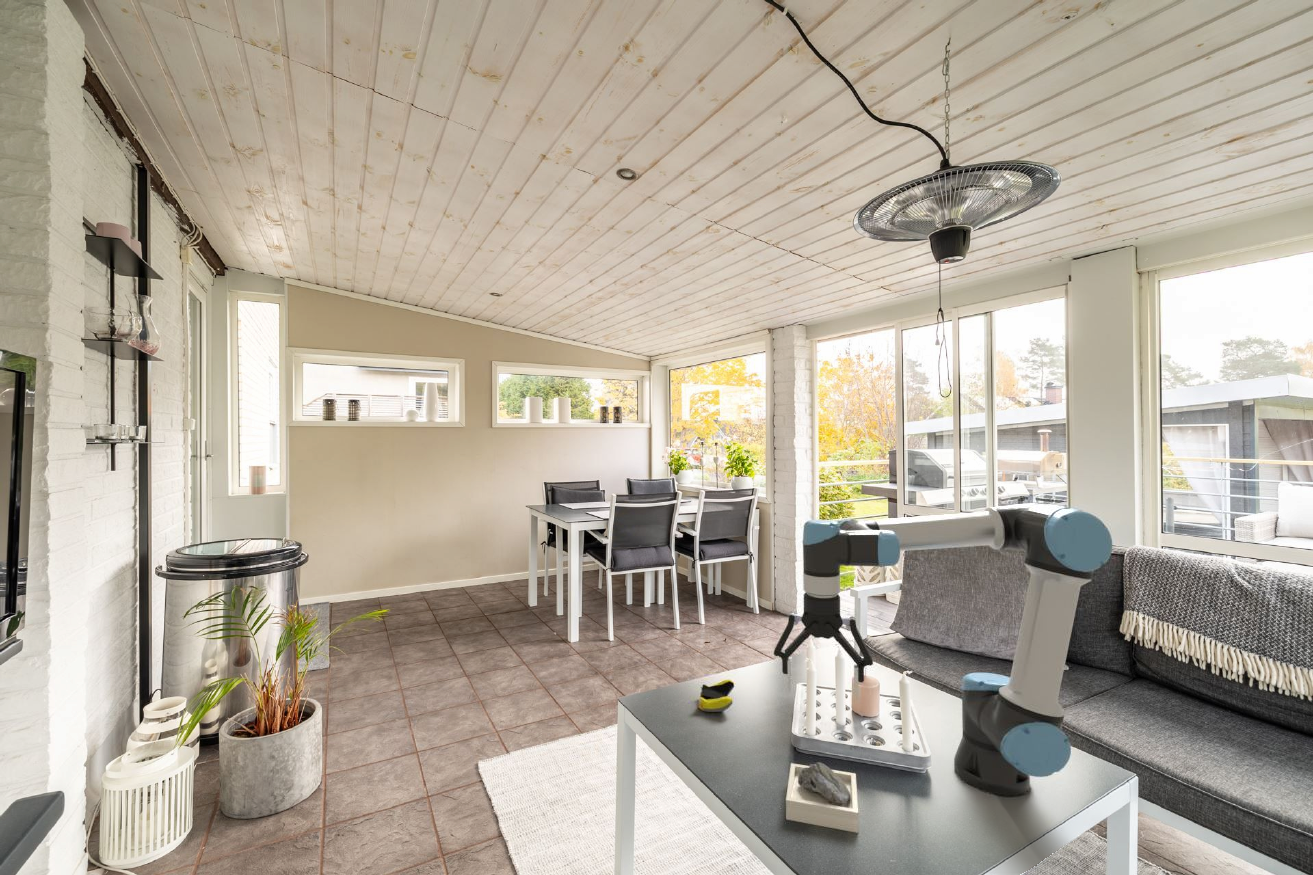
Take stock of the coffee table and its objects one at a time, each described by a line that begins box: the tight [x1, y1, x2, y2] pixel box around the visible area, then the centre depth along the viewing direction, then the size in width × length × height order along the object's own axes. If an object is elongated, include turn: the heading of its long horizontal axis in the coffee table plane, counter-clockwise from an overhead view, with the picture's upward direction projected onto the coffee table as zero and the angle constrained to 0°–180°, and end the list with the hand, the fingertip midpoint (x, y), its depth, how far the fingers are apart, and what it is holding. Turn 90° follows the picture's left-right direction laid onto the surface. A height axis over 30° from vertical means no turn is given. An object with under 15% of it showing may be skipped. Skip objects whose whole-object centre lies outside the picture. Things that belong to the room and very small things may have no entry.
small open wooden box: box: [785, 762, 859, 834], centre depth 124 cm, size 14×14×4 cm
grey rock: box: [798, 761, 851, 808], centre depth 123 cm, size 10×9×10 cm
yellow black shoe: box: [697, 679, 735, 713], centre depth 170 cm, size 15×6×10 cm
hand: (822, 692), depth 124 cm, fingers open, 13 cm apart
